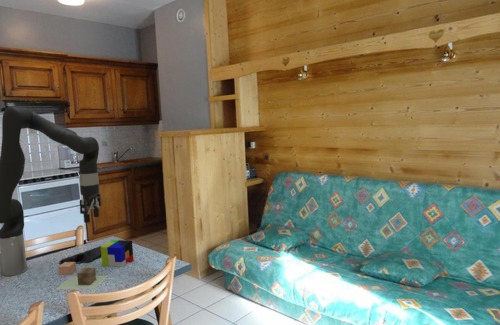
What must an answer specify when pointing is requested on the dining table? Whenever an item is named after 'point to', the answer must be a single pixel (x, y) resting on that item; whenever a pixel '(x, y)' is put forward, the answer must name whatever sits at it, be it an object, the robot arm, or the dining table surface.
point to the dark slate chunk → (84, 256)
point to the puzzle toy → (117, 253)
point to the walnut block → (86, 276)
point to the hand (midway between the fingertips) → (91, 219)
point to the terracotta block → (67, 268)
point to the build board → (73, 284)
